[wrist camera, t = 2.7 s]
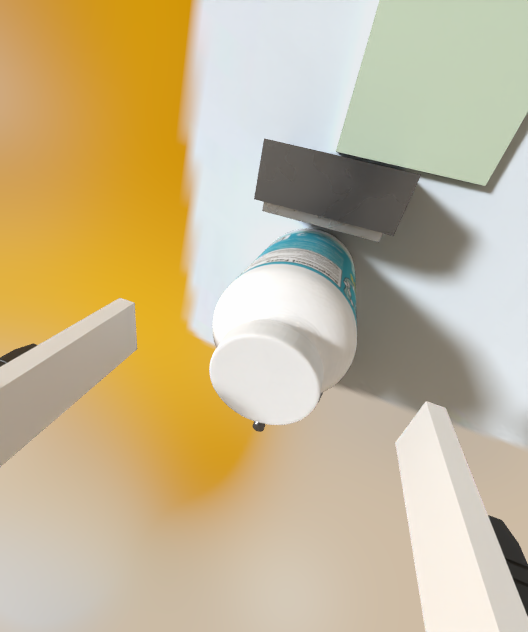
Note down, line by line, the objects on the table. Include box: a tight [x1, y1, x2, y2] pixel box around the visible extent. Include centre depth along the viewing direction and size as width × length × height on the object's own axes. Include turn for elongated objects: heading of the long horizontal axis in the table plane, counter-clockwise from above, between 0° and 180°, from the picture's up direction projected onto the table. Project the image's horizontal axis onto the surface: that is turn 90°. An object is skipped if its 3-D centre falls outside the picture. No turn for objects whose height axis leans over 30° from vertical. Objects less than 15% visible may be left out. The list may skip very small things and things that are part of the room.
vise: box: [253, 139, 421, 431], centre depth 22 cm, size 21×8×7 cm, turn 167°
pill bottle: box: [209, 228, 357, 425], centre depth 17 cm, size 8×7×14 cm
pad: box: [336, 0, 528, 186], centre depth 15 cm, size 9×9×1 cm
